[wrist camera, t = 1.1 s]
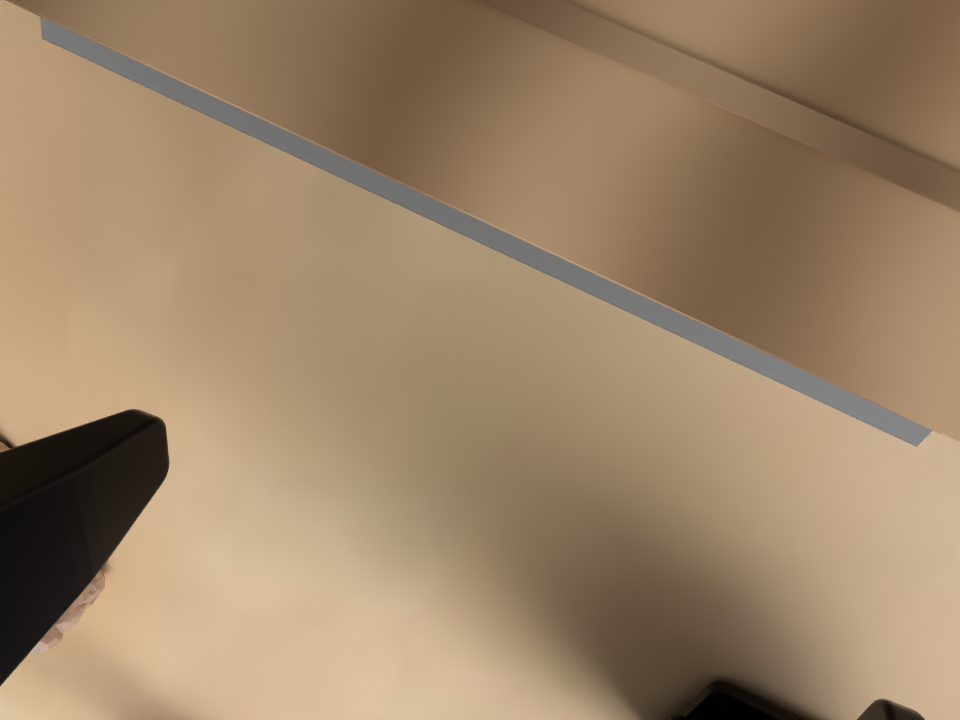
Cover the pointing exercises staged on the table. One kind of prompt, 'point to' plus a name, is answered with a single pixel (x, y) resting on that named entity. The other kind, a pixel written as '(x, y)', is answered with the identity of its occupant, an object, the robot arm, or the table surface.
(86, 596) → the brick
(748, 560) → the table surface
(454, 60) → the click plank
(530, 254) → the underlay
